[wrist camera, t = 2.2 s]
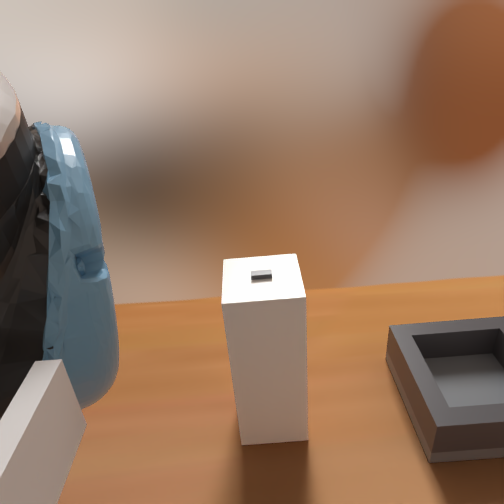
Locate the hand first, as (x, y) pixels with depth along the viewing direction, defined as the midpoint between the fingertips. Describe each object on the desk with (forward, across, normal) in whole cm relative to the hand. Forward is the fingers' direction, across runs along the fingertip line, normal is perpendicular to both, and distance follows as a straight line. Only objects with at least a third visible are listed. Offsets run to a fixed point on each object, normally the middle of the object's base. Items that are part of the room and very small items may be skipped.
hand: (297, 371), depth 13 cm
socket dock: (+12, +13, -16) cm, 24 cm away
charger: (+12, -1, -16) cm, 20 cm away
